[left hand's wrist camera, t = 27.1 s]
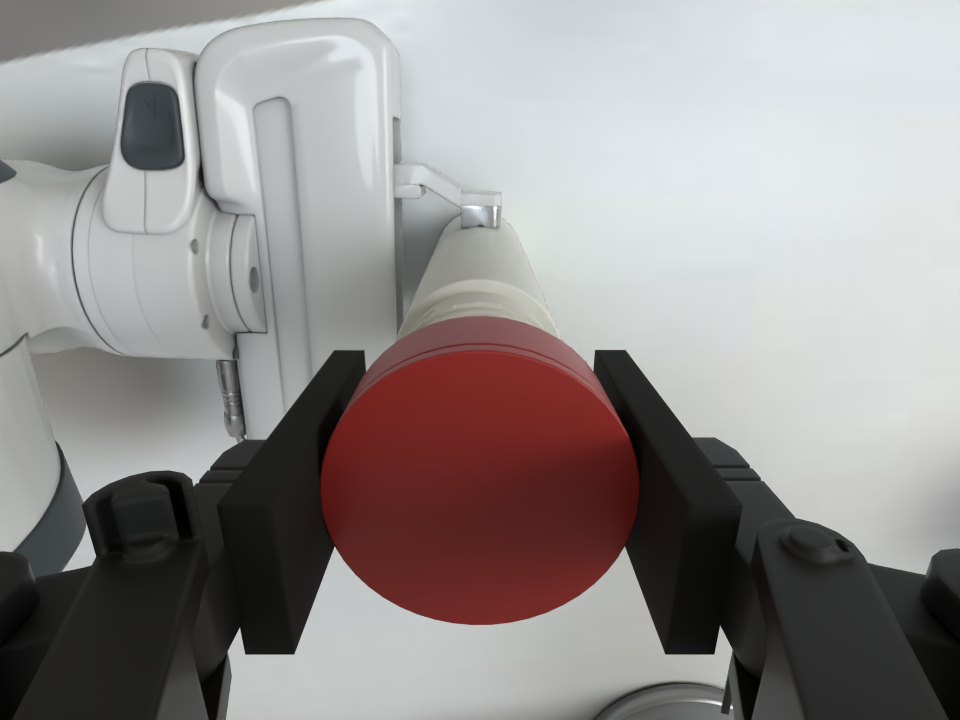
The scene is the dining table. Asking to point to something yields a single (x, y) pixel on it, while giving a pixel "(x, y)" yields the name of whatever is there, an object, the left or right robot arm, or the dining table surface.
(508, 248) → the white cylinder
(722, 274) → the dining table surface
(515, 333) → the lid
